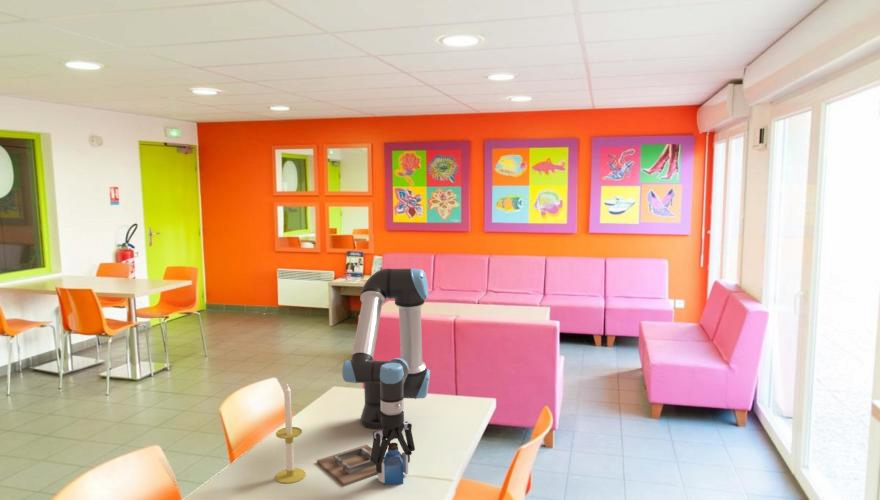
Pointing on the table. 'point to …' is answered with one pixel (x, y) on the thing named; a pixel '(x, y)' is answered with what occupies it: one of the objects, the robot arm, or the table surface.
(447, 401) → the table surface
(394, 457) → the perfume bottle
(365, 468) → the pocket board
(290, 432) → the candle
